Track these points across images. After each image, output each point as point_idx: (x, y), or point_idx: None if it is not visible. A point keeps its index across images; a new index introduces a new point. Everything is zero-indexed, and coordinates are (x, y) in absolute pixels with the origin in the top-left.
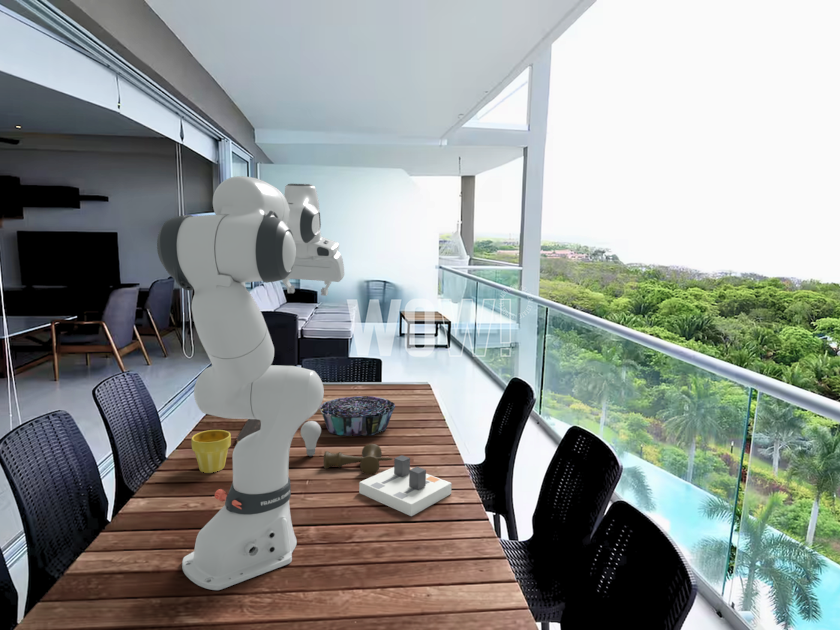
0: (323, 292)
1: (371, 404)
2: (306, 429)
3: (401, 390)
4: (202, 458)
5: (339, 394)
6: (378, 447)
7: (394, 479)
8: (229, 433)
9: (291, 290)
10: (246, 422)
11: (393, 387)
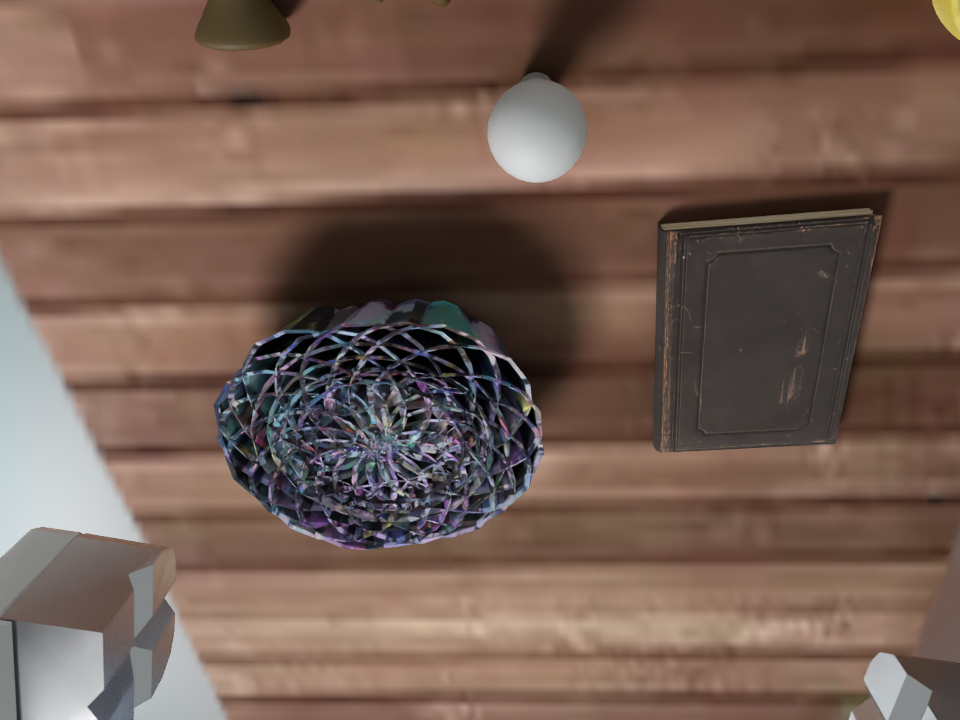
0: (66, 576)
1: (327, 466)
2: (553, 99)
3: (300, 691)
4: None
5: (513, 662)
6: (200, 34)
7: None
8: (958, 8)
9: (947, 702)
10: (843, 396)
11: (333, 713)
